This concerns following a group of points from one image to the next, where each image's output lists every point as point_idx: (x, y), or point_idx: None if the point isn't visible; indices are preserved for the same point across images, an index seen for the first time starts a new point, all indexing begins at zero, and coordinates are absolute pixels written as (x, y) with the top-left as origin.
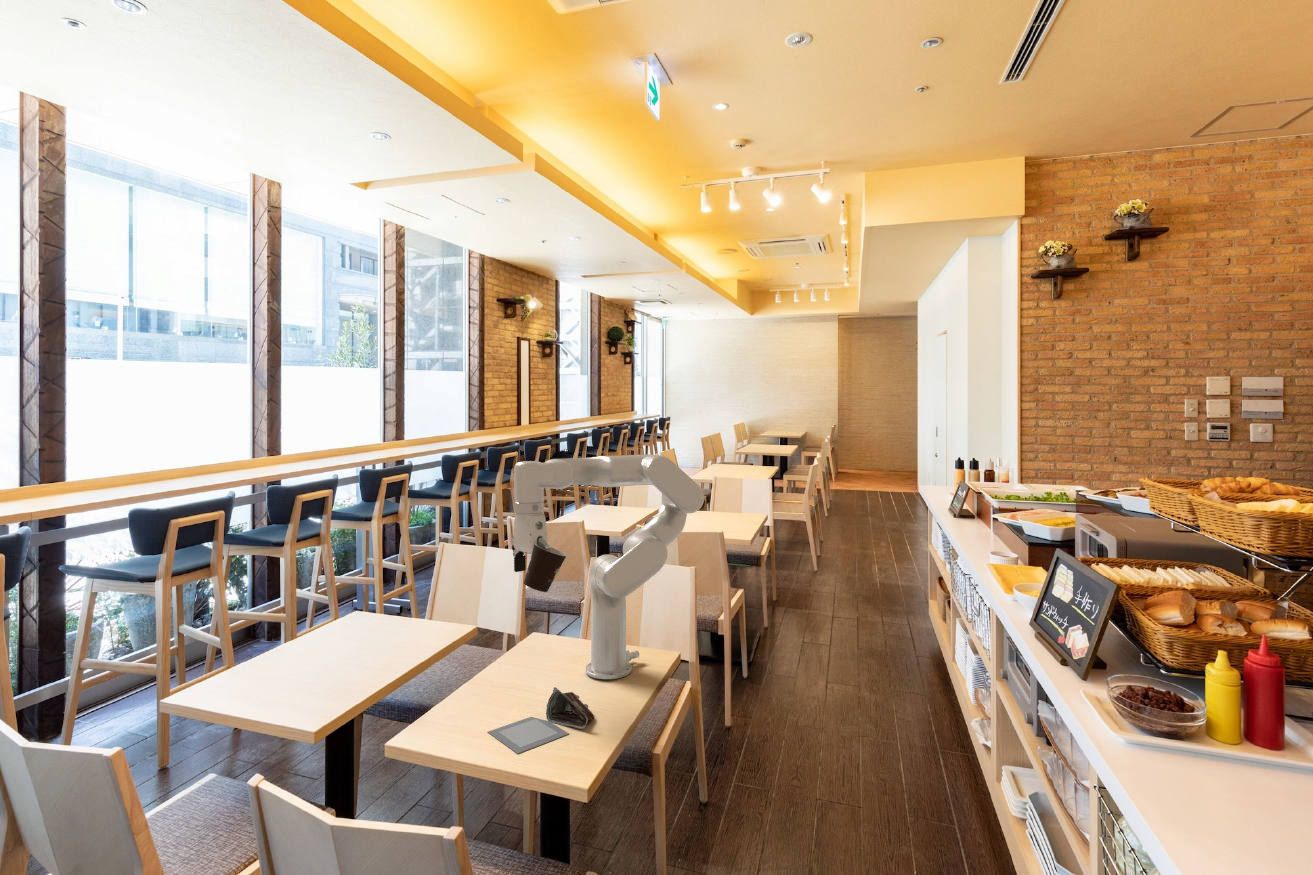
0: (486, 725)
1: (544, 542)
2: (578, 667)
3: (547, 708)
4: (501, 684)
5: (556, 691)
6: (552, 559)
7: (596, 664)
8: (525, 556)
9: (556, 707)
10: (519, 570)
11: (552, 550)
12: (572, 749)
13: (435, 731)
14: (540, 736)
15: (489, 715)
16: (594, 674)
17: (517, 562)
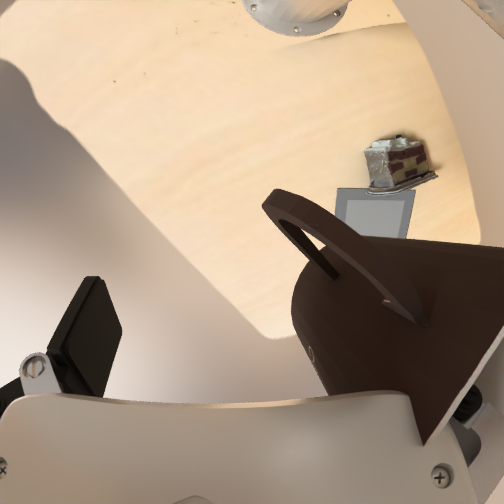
0: (308, 259)
1: (488, 490)
2: (191, 7)
3: (368, 193)
4: (171, 174)
5: (391, 192)
6: None
7: (306, 20)
8: (61, 344)
9: (373, 177)
10: (113, 315)
11: (467, 348)
12: (439, 210)
13: (275, 309)
14: (393, 222)
15: (282, 243)
16: (311, 34)
17: (105, 367)
